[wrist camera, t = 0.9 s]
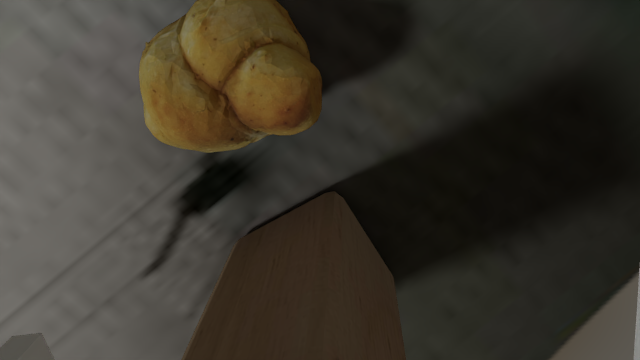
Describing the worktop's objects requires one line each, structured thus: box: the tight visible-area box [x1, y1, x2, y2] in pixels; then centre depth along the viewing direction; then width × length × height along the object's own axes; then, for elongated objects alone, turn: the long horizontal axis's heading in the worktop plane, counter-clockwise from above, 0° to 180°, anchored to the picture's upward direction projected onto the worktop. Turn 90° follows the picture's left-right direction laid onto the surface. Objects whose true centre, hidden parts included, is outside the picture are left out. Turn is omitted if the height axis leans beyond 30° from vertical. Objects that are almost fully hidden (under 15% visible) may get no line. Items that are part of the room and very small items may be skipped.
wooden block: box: [182, 191, 406, 360], centre depth 30 cm, size 10×10×20 cm
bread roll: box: [139, 0, 322, 152], centre depth 31 cm, size 13×10×8 cm
